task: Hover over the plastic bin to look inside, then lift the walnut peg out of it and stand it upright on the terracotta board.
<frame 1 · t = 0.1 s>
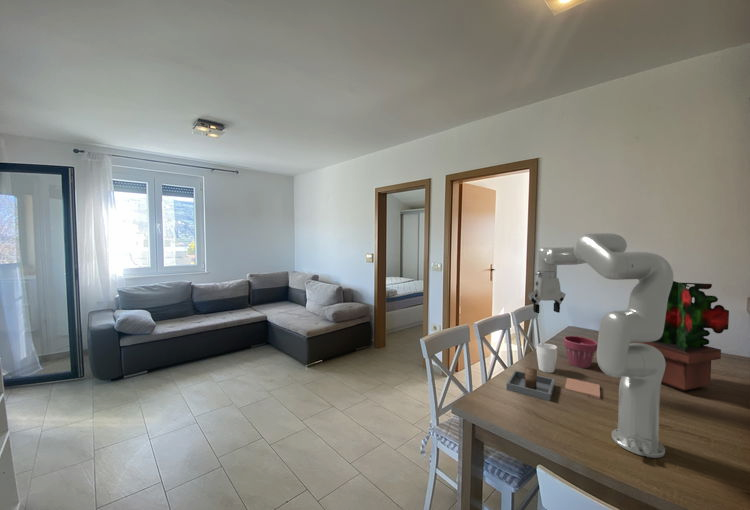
hand: (546, 312, 138), 31 cm above the table, tool pointing down, fingers open, 9 cm apart
cup: (546, 370, 149), on the table
terracotta board: (582, 388, 130), on the table
potted plant: (674, 383, 134), on the table
plant pot: (579, 364, 156), on the table
walnut peg: (530, 387, 130), point 1 cm above the table, touching bin
bin: (530, 389, 130), on the table
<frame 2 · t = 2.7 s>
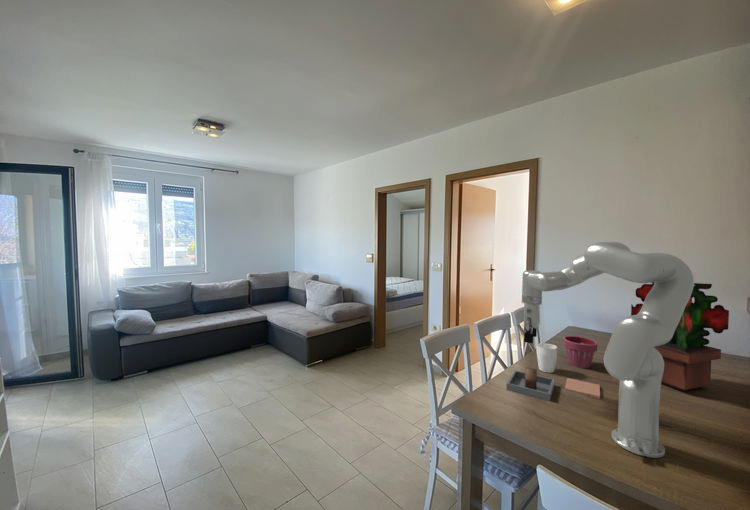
hand: (530, 339, 130), 22 cm above the table, tool pointing down, fingers open, 9 cm apart
nothing on the table moved.
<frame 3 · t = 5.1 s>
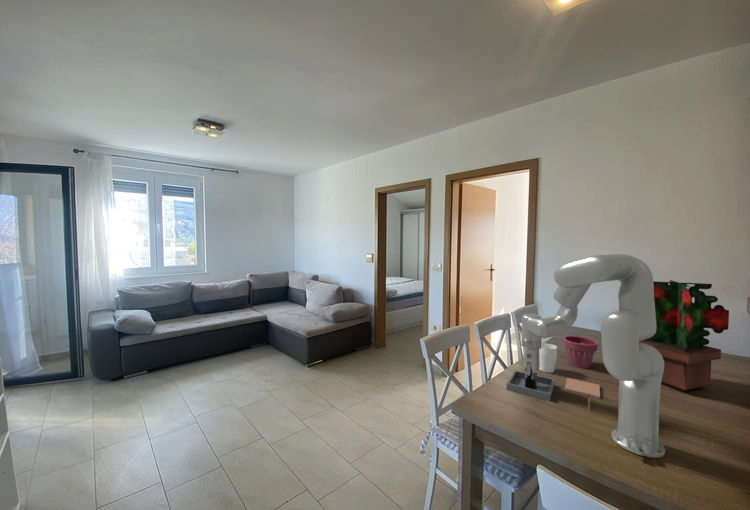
hand: (530, 384, 130), 2 cm above the table, tool pointing down, fingers closed on walnut peg, 4 cm apart
walnut peg: (530, 387, 130), point 1 cm above the table, touching bin, gripper
everything else where it was.
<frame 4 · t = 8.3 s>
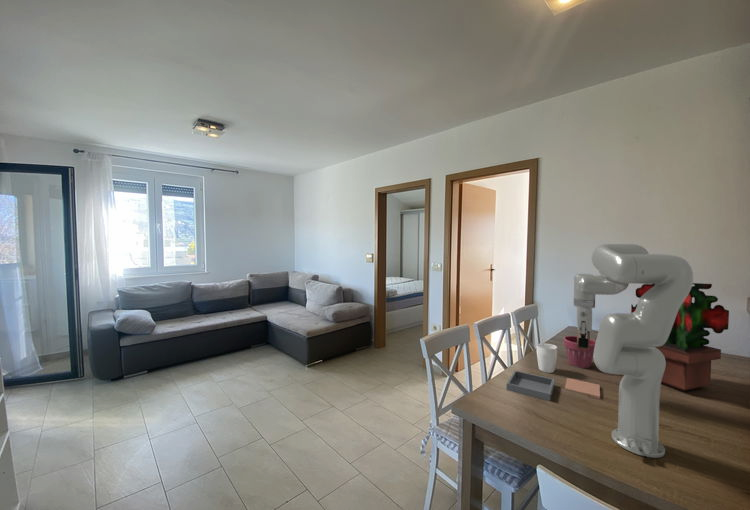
hand: (583, 345, 129), 19 cm above the table, tool pointing down, fingers closed on walnut peg, 4 cm apart
walnut peg: (583, 347, 129), point 18 cm above the table, touching gripper
everything else where it was.
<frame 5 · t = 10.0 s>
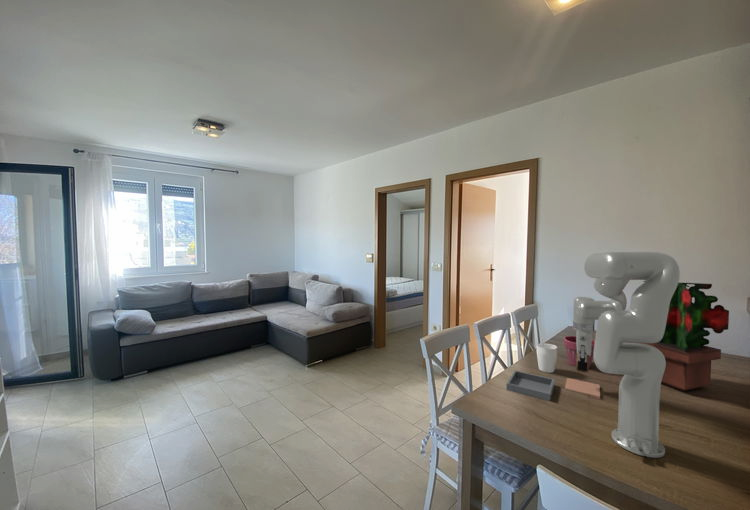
hand: (582, 367, 130), 9 cm above the table, tool pointing down, fingers closed on walnut peg, 4 cm apart
walnut peg: (582, 370, 130), point 8 cm above the table, touching gripper
everything else where it was.
when the fingers open (4 cm above the table, at t = 11.4 s): walnut peg drops 1 cm, resting on terracotta board.
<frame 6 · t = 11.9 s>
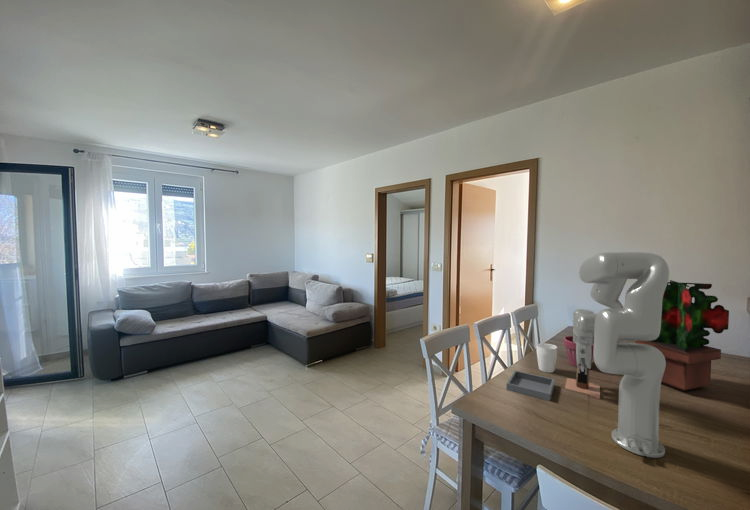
hand: (582, 378, 130), 5 cm above the table, tool pointing down, fingers open, 9 cm apart
walnut peg: (582, 386, 130), point 1 cm above the table, touching terracotta board
everything else where it was.
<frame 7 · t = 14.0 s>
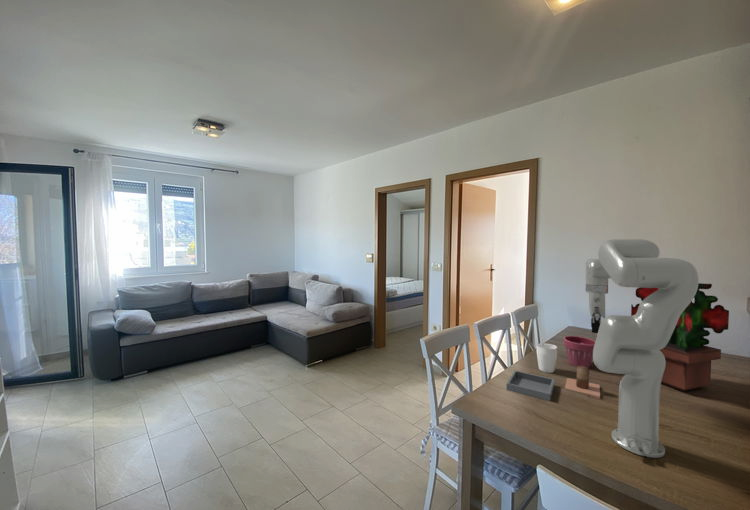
hand: (596, 330, 125), 26 cm above the table, tool pointing down, fingers open, 9 cm apart
nothing on the table moved.
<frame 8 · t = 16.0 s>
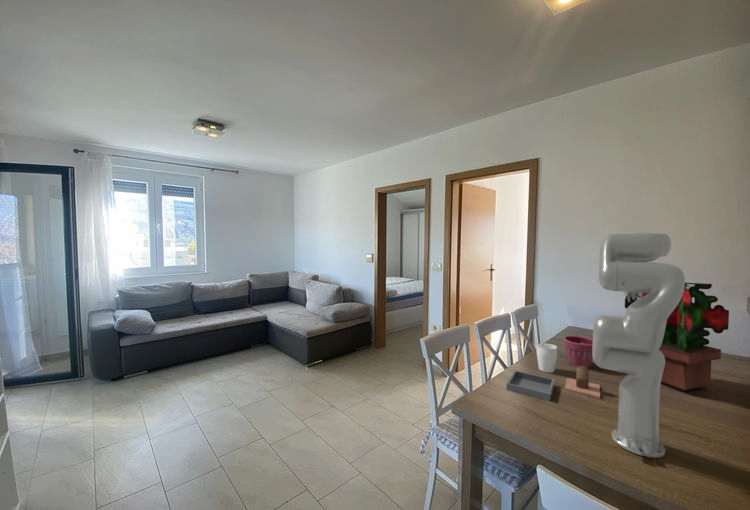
hand: (631, 310, 117), 36 cm above the table, tool pointing down, fingers open, 9 cm apart
nothing on the table moved.
at the end: walnut peg inside the target area on the terracotta board (0.1 cm from its centre), point 1.1 cm above the terracotta board's base; walnut peg tilted 2°; the gripper is holding nothing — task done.
